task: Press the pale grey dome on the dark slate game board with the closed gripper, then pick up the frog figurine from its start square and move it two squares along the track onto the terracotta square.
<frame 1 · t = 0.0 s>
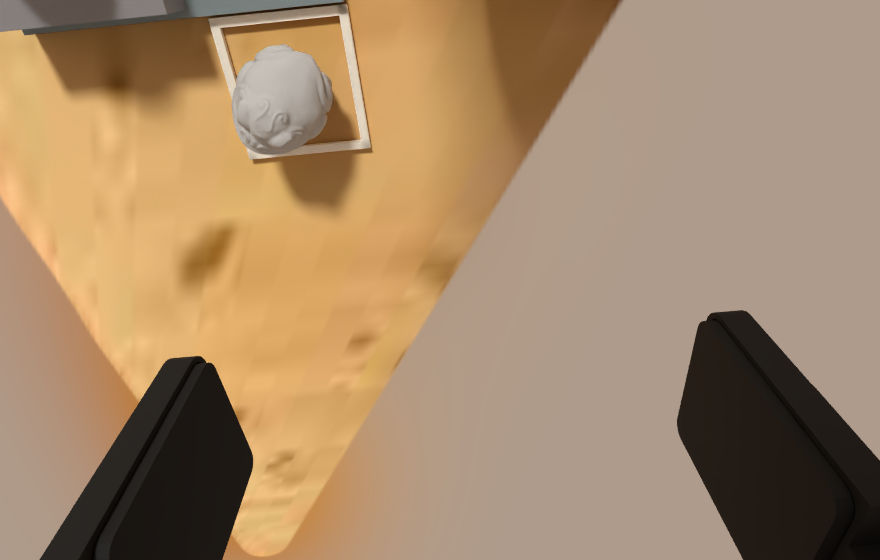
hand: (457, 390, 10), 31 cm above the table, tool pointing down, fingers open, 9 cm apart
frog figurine: (296, 85, 37), resting in game board
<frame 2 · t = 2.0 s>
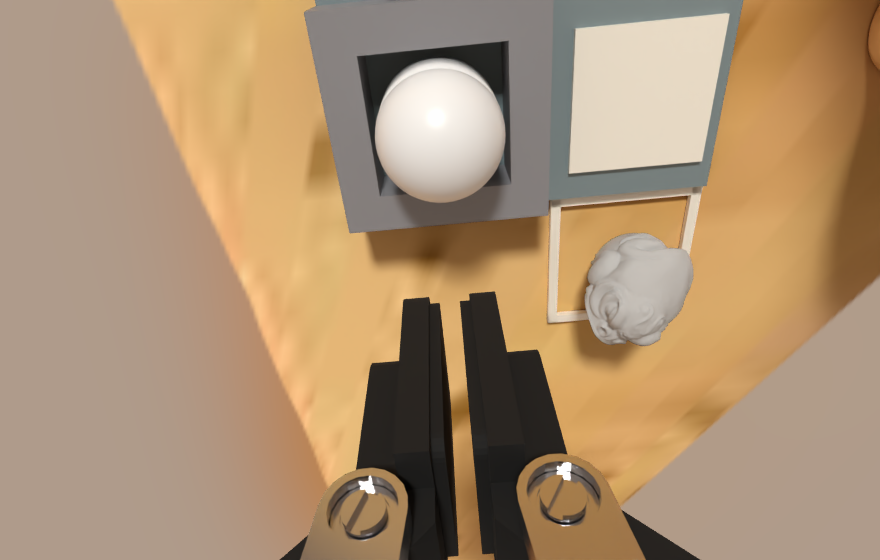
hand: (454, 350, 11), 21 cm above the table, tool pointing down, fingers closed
dome button: (440, 137, 24), point 6 cm above the table, slide at 0.0 cm
game board: (527, 76, 28), on the table
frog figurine: (616, 254, 35), resting in game board
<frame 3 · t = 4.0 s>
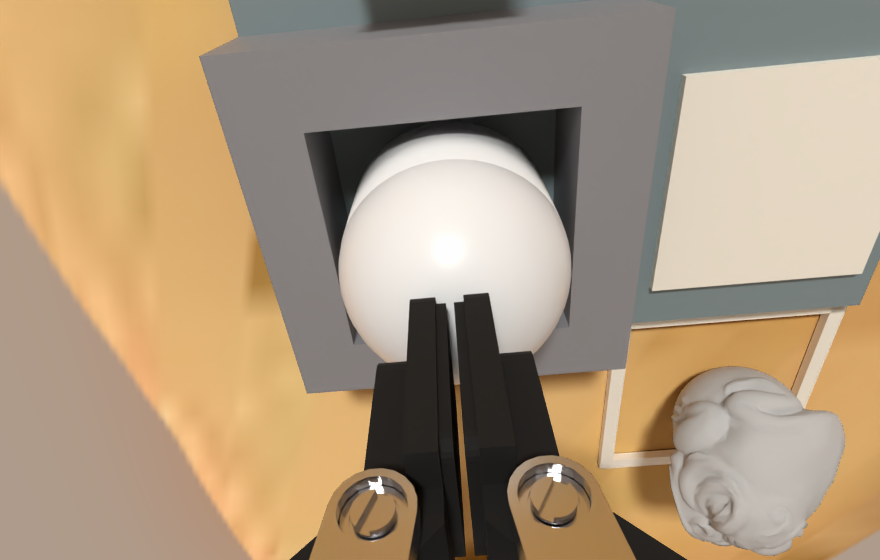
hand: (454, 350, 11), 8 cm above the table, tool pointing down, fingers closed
dome button: (454, 268, 14), point 5 cm above the table, slide at 0.5 cm, touching gripper
game board: (593, 145, 18), on the table
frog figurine: (703, 384, 24), resting in game board
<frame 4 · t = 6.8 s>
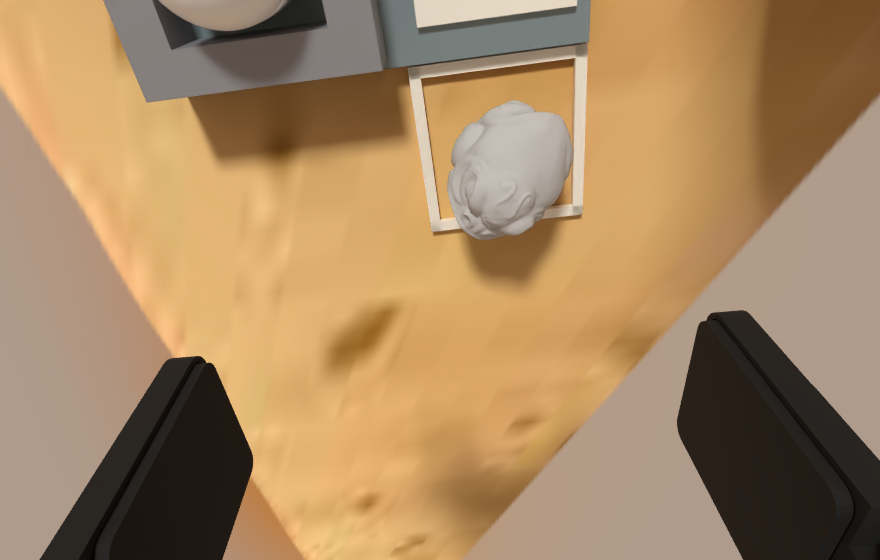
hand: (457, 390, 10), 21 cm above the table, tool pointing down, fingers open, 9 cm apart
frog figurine: (500, 143, 30), resting in game board
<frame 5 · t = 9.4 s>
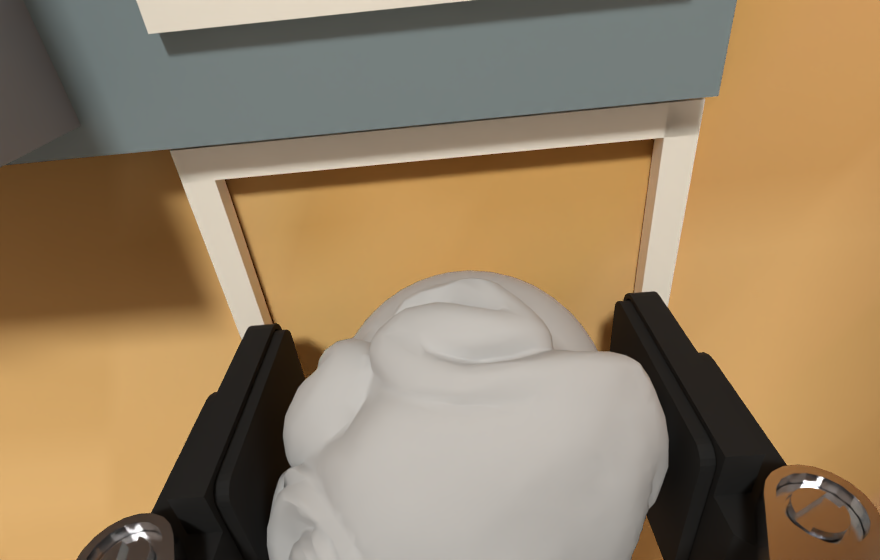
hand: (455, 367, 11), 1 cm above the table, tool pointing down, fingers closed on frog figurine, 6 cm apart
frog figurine: (454, 325, 12), resting in game board, touching gripper
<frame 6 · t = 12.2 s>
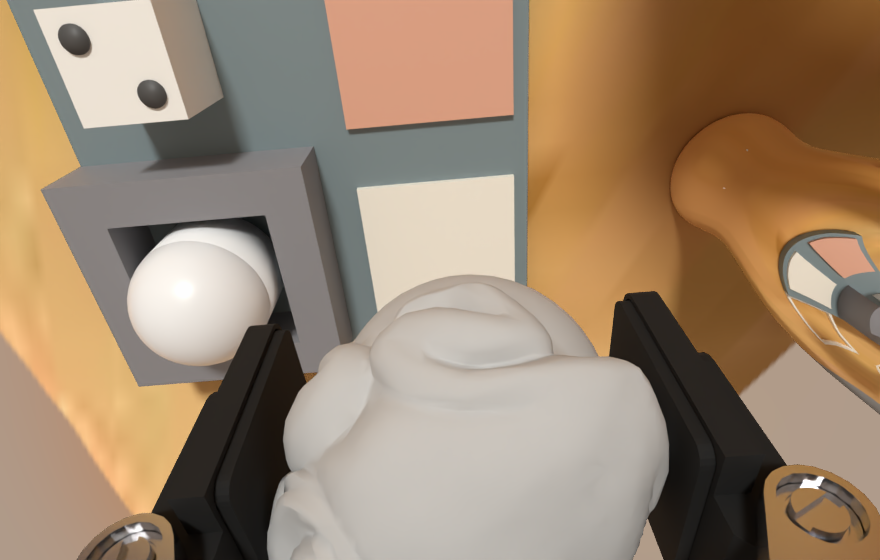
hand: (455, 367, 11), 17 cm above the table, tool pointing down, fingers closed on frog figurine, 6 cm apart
dome button: (203, 299, 24), point 5 cm above the table, slide at 1.1 cm
game board: (324, 225, 27), on the table
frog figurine: (454, 328, 12), point 15 cm above the table, touching gripper
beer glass: (727, 171, 27), on the table
when the fingers open (4 cm above the table, at t = 15.4 s): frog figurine drops 1 cm, resting on game board.
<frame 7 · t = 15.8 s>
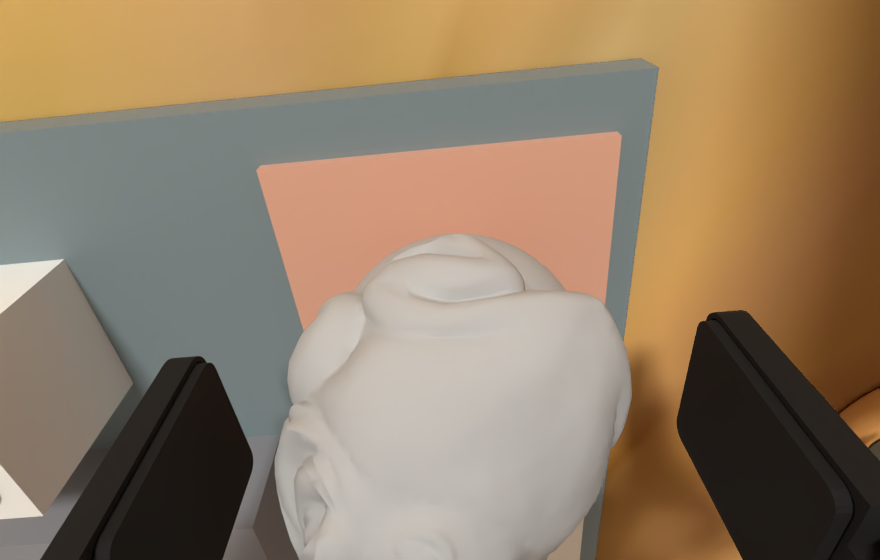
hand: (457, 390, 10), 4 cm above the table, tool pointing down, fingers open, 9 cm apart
game board: (305, 497, 19), on the table
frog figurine: (446, 291, 13), point 1 cm above the table, touching game board
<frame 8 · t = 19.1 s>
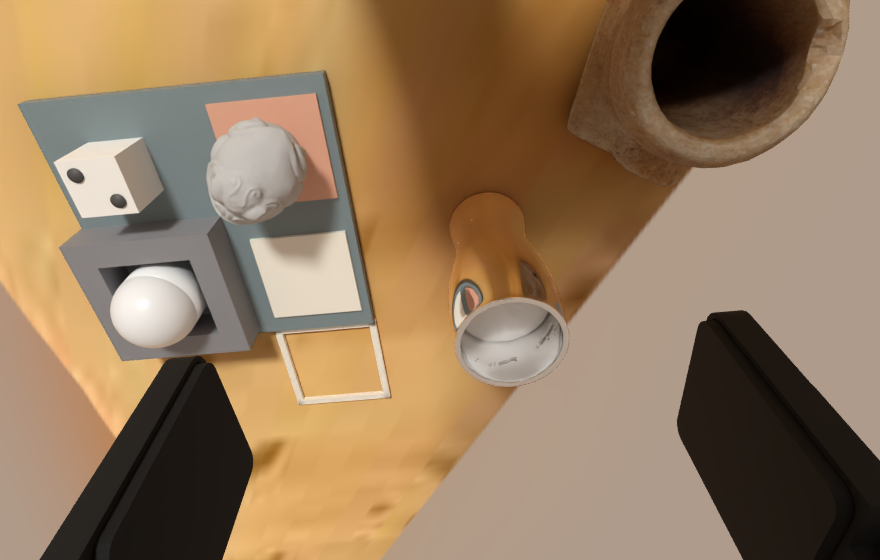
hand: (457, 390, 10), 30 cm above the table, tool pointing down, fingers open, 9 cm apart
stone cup: (639, 53, 36), on the table
dome button: (156, 309, 40), point 5 cm above the table, slide at 1.1 cm
game board: (236, 260, 43), on the table
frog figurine: (273, 150, 37), point 1 cm above the table, touching game board
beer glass: (486, 225, 42), on the table
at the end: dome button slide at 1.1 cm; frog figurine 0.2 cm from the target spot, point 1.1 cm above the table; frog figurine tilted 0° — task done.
